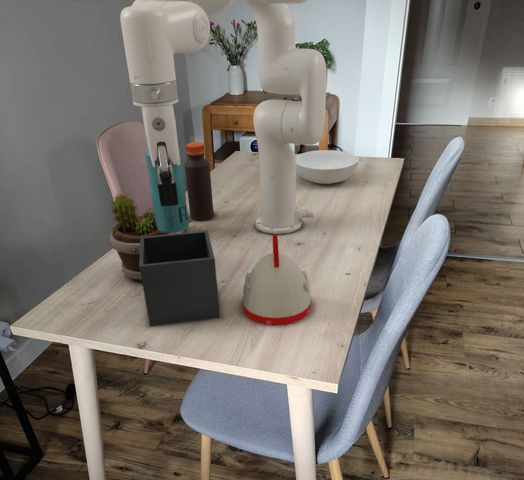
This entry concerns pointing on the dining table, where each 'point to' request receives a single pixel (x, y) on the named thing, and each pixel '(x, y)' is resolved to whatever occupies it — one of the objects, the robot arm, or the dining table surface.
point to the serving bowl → (326, 166)
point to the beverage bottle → (168, 216)
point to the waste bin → (179, 277)
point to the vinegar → (198, 183)
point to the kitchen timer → (276, 290)
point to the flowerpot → (131, 233)
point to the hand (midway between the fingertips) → (169, 197)
